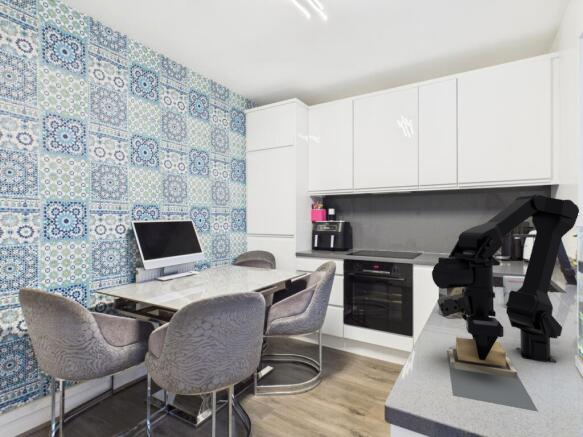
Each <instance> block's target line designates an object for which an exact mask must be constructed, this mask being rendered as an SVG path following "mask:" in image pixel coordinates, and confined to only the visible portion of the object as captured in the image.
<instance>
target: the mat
mask: <svg viewBox="0 0 583 437" xmlns="http://www.w3.org/2000/svg"><path fill="white" fill-rule="evenodd" d="M446 355H447V360H448V362H447V363H448V369H449V376H450V382H451V389H452V390H451V391H452V395H453V396H454V397H457V398H458V397H459V398H462V399H463V398H465V399H469V400H475V401H480V402H485V403H492V404H496V405H500V406H506V407H510V408H511V407H513V408H518V409H522V410H527V411H528V410H529V411H533V412H539V410H538V409H537V407H536V405H535V403H534V401H533V399H532V398H531V396H530V394H529V392H528V390H527V389H526V388H525V386H524V383H523V382H522V380H521V379H520V377H519V375H518V374H517V378H511V377H504V376H498V375H491V374H485V373H479V372H472V371H466V370H459V369H453V368H451V363H450V357H449V350H446ZM454 360H455V362H459V363H466V364H472V365H479V366H486V367H493V368H499V369H506V370H508V368H507V366H499V365H492V364H485V363H478V362H471V361H464V360H458V355H457V354H454Z"/></svg>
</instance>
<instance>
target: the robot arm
mask: <svg viewBox="0 0 583 437" xmlns="http://www.w3.org/2000/svg"><path fill="white" fill-rule="evenodd" d="M578 213H579V214H580V209H579V206H578V205H577V204H576V203H574V201H572V200H571V199H560V198H556V197H555V198H554V197H549V196H544V195H542V194H539V193H537V194H536V193H535V194H523V195H520V196H518V197H516V198H515V200H514V201H513V202H511V203H510V204H509V205H508V206H507V207H505V208H504V209H503V210H501V211H499V213H497V214H496V215H494V216H493V217H492V218H490V219H489V220H488V221H486V222H485V223H482V224H479V225H475V226H472V227H470V228H468V229H466V230H464V231H462V232H461V233H460V234H459V235H458V240H457V242H456V243H455V244H454V246H453V249H452V250H451V252H450V253H449V255H448V257H443V256H441V257H438V259H437V260H438V261H437V263H436V264H435V265H434V266H433V268H432V271H431V277H432V281H433V283H434V285H435V286H437V288H438V289H439V288H441V289H447V288H458V287H463V289H462V294H458V295H452V296H448V297H445V298H441V299H439V298H438V299H437V304H438V308H439V307H440V310H441V312H442V315H441V316H442V317H445V316H449V315H450V314H455V313H459V312H461V313H464V314H462V317H463V318H462V319H463V320H464V321H465V323H466V331H467V333H468V334H470V335H471V336H472V337H471V338H472V339H475V343H476V348H477V352H478V356H479V359H480V360H485V359H486V357H487V356H488V354H489V352H490V350H491V348H492V346H493V345H494V343H495V342H497V340H498V338H504V326H503V325H502V323H501V322H500V321H499V320H498V319H497V318H496V313H497V312H496V310H495V308H494V305H495V304H494V299H495V298H496V293H495V291H494V271H493V270H494V267H495V266H500V265H501V262H500V261H499V260H498V259H496V258H495V257H494V256H495V255H496V253H497V252H498V251H499V250H500V249H501V248H502V246H503V245H504V239H505V238H506V236H508V235H509V234H510V233H512V232H513V231H514V230H515V229H516V228H518V227H519V226H520V225H521V224H522V223H524V222H525V221H526V220H528V219H529V218H530V217H531V222H532V225H533V227H534V229H535V231H536V232H535V238H534V241H533V245H532V248H531V252H530V256H529V260H528V263H527V266H526V269H525V270H526V271H525V274H524V277H525V278H524V281H523V285H522V287H521V288H520V289H519V290H517V291H511V292H510V293H509V298H508V302H507V303H506V306H507V309H506V315H507V317H508V321H509V323H510V325H511V327H513V328H515V329H519V330H520V332H519V333H520V347H516V348H515V349H516V350H517V352H518V353H519V355H520V356H521V358H522V359H525V360H532V361H540V362H548V363H554V364H555V363H557V361H556V359H555V358H554V357H553V356H552V355H551V354H552V352H551V351H552V350H551V339H558V337H562V336H561V335H562V331H563V326H562V325H561V324H560V323H559V322H558V320H557V319H556V318H555V317H554V316H553V310H554V307H553V304H552V301H551V299H550V296H549V294H548V292H549V289H550V285H551V281H552V277H553V273H554V270H555V265H556V262H557V258H558V255H559V250H560V245H561V242H562V240H563V239H562V238H563V237H564V236H565V235H566V234H568V233H569V232H570V231H571V230H572V229H573V228H574V227H575V223H576V222H577V219H578V217H579V215H578ZM465 314H466V315H465Z"/></svg>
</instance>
